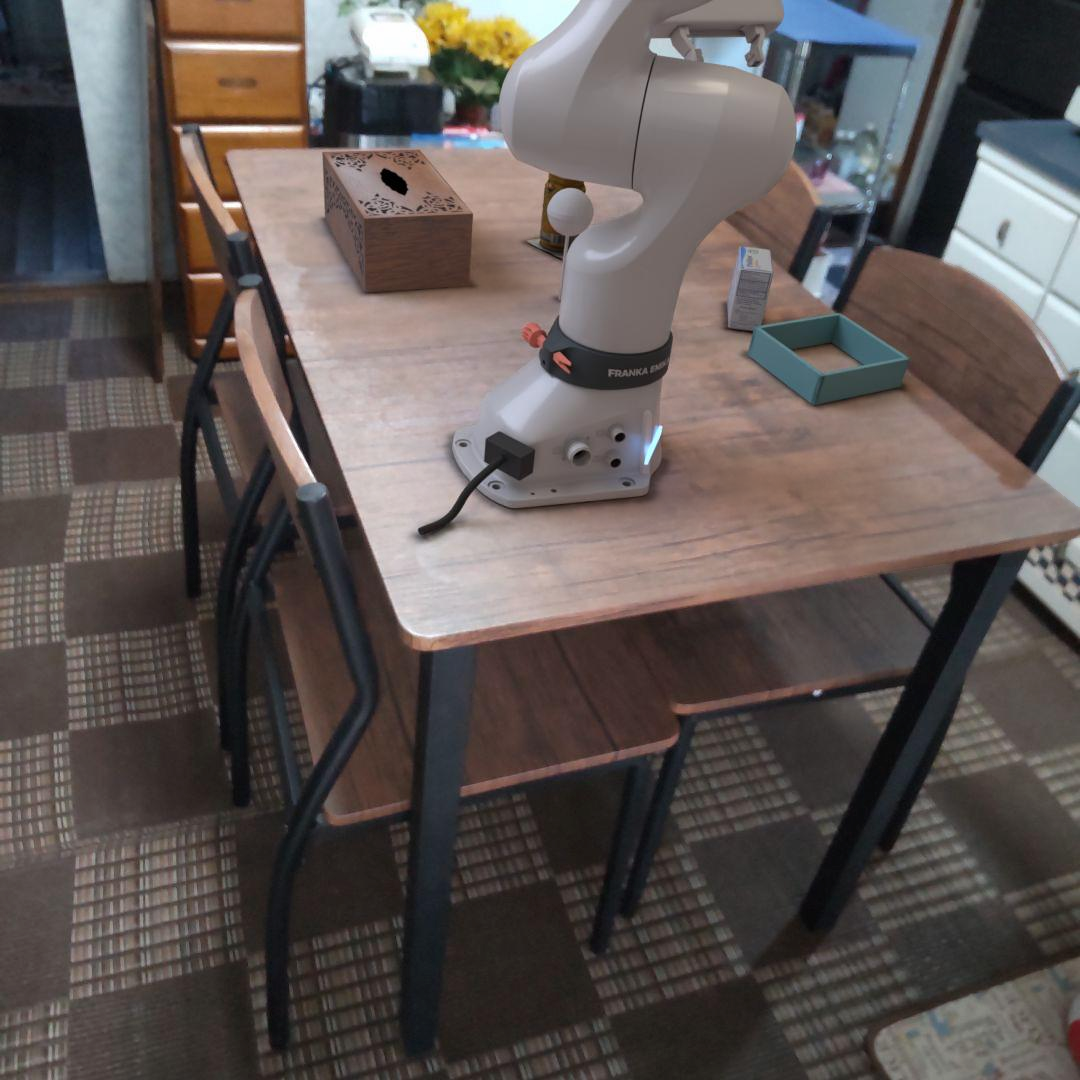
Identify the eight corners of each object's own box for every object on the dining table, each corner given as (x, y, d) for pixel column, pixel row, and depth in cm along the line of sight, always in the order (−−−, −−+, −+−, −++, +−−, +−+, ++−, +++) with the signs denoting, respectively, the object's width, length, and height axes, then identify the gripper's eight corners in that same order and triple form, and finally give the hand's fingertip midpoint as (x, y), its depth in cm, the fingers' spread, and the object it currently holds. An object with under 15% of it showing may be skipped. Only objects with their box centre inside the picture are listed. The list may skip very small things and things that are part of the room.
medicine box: (759, 333, 133) (775, 272, 128) (726, 328, 133) (740, 267, 128) (757, 308, 139) (772, 249, 134) (725, 304, 139) (739, 244, 134)
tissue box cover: (325, 219, 150) (322, 151, 144) (418, 215, 155) (419, 149, 148) (365, 292, 131) (364, 218, 125) (469, 285, 136) (473, 213, 130)
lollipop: (560, 286, 139) (573, 178, 130) (591, 302, 136) (606, 192, 127) (528, 296, 135) (539, 186, 126) (559, 313, 132) (572, 201, 123)
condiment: (560, 233, 154) (568, 154, 147) (599, 252, 150) (609, 171, 142) (525, 242, 150) (532, 161, 143) (564, 262, 146) (573, 180, 138)
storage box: (813, 405, 119) (822, 376, 116) (747, 355, 128) (754, 326, 125) (900, 387, 125) (910, 358, 122) (831, 339, 134) (839, 312, 131)
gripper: (640, -58, 119) (671, 52, 118) (775, -54, 127) (804, 49, 127) (616, -23, 124) (645, 82, 124) (746, -21, 133) (774, 77, 132)
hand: (726, 65), depth 125 cm, fingers open, 8 cm apart
